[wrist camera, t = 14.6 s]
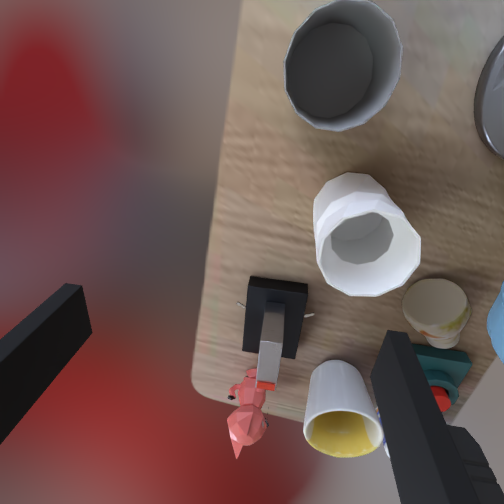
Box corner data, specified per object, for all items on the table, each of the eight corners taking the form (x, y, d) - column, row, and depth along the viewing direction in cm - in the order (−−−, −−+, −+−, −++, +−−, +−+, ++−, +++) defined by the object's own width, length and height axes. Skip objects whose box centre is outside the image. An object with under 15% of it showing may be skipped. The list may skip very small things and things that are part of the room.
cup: (385, 29, 29) (422, 7, 21) (359, 123, 33) (380, 138, 25) (295, 16, 30) (294, -10, 21) (280, 111, 34) (274, 121, 25)
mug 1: (310, 342, 48) (313, 403, 39) (377, 355, 48) (395, 419, 39) (293, 399, 55) (292, 462, 46) (351, 411, 55) (362, 477, 45)
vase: (373, 157, 35) (405, 190, 24) (397, 224, 38) (435, 278, 27) (300, 191, 38) (300, 234, 27) (328, 250, 41) (338, 309, 30)
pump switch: (409, 342, 46) (418, 364, 43) (465, 352, 46) (479, 374, 42) (385, 392, 51) (392, 414, 48) (436, 401, 51) (446, 424, 47)
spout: (266, 301, 43) (260, 342, 36) (285, 303, 42) (282, 345, 36) (261, 344, 47) (254, 389, 40) (278, 347, 46) (275, 392, 40)
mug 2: (415, 341, 46) (411, 370, 37) (402, 276, 46) (394, 289, 37) (477, 339, 42) (489, 370, 34) (462, 268, 42) (470, 281, 34)
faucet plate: (240, 274, 44) (237, 285, 42) (317, 285, 43) (318, 296, 41) (236, 338, 50) (233, 351, 48) (303, 348, 49) (304, 362, 47)
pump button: (423, 383, 45) (428, 393, 43) (450, 387, 44) (455, 398, 43) (414, 399, 46) (418, 410, 45) (440, 404, 46) (444, 415, 45)
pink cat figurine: (266, 395, 55) (258, 468, 45) (228, 384, 55) (212, 455, 45) (278, 368, 52) (273, 441, 42) (238, 357, 52) (222, 426, 41)
